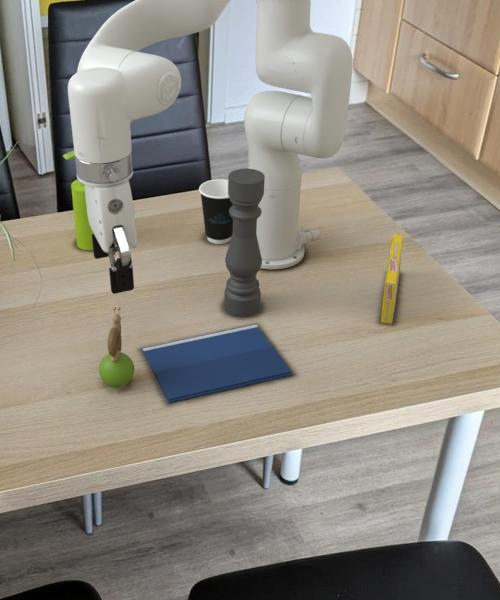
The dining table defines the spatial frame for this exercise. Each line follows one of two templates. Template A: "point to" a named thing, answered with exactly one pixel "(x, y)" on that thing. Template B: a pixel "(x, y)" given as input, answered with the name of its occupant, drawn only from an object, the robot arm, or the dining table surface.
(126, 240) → the robot arm
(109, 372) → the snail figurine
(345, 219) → the dining table surface
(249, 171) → the candle holder
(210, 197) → the dixie cup
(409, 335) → the dining table surface
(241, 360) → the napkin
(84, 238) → the soap dispenser
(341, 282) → the dining table surface
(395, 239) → the candy box
